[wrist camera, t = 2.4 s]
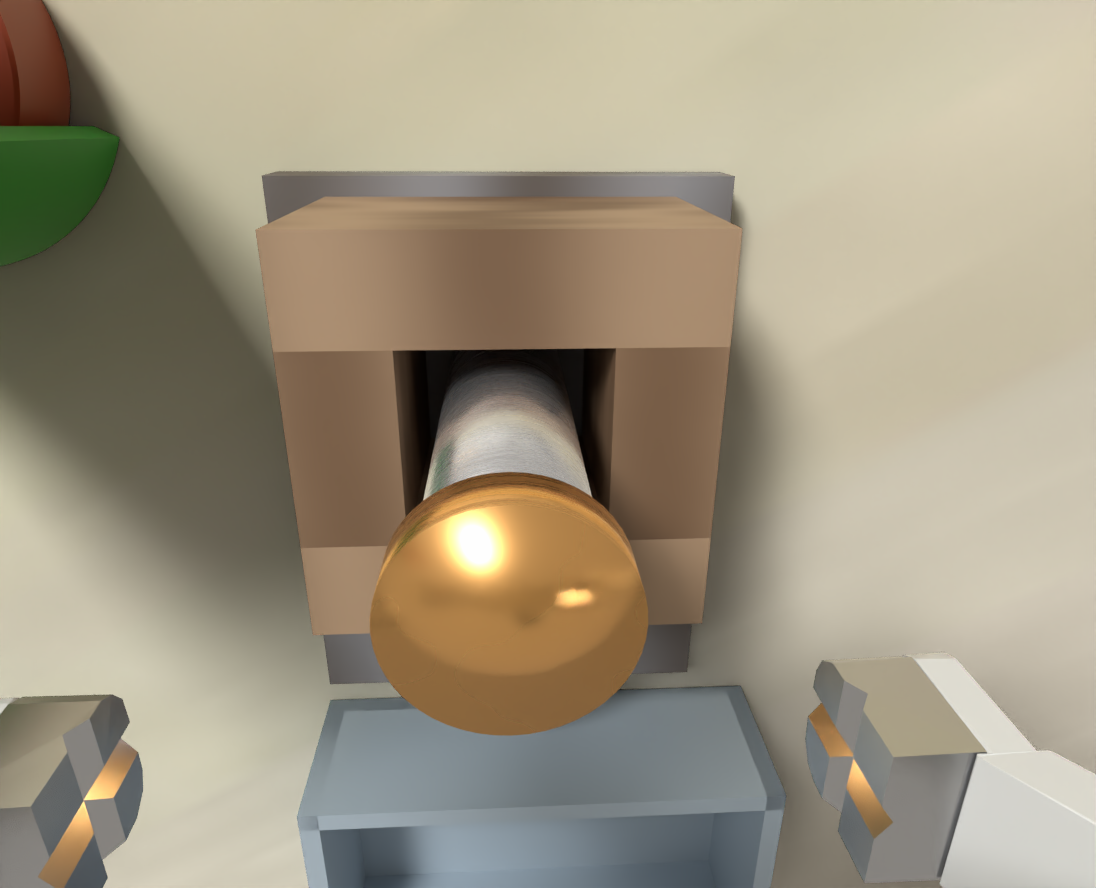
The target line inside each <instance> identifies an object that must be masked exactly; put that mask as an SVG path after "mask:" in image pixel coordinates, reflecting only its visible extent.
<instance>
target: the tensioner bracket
mask: <svg viewBox="0 0 1096 888" xmlns="http://www.w3.org/2000/svg"><path fill="white" fill-rule="evenodd" d="M734 179H735V176H731V175H728V174H724V173H721V172H274V173H270V174H266V175H263V176H262V181H263V189H264V196H265V204H266V211H267V218H268V224H267V225H265V226H262V227H260V228H258V229H256V237H257V244H258V251H259V258H260V265H261V272H262V279H263V286H264V293H265V300H266V307H267V314H268V321H269V328H270V336H271V343H272V350H273V357H274V364H275V371H276V378H277V385H278V392H279V399H280V406H281V413H282V420H283V427H284V434H285V441H286V449H287V456H288V463H289V470H290V477H291V484H292V491H293V498H294V505H295V512H296V519H297V526H298V533H299V540H300V547H301V555H302V562H303V569H304V576H305V583H306V590H307V597H308V604H309V611H310V618H311V625H312V632H313V635H324V641H325V649H326V656H327V664H328V671H329V678H330V684H347V683H377V682H389V680H388V679H387V678H386V676H385V675H384V673H383V671H382V669H381V667H380V665H379V664H378V661H377V659H376V656H375V653H374V650H373V647H372V641H371V636H370V612H371V604H372V600H373V596H374V592H375V588H376V584H377V581H378V577H379V573H380V569H381V565H382V562H383V558H384V555H385V552H386V549H387V546H388V544H389V542H390V540H391V538H392V536H393V534H394V532H395V531H396V530H397V528H398V527H399V525H400V524H401V522H402V521H403V520H404V519H405V518H406V516H407V515H408V514H409V513H410V512H411V511H412V510H413V509H414V508H415V507H416V506H418V505H419V504H420V503H421V502H422V501H423V499H424V494H425V489H426V484H427V479H428V474H429V469H430V464H431V459H432V454H433V449H434V444H435V439H436V434H437V429H438V424H439V419H440V414H441V409H442V404H443V399H444V394H445V389H446V384H447V379H448V374H449V369H450V364H451V359H452V353H453V350H493V349H557V352H558V356H559V360H560V365H561V369H562V373H563V377H564V381H565V386H566V390H567V394H568V398H569V403H570V407H571V411H572V415H573V419H574V424H575V428H576V432H577V436H578V440H579V445H580V449H581V453H582V457H583V461H584V466H585V470H586V474H587V478H588V482H589V487H590V491H591V495H592V497H593V498H594V499H595V500H596V501H598V502H599V503H600V504H602V505H603V506H604V507H605V508H606V509H607V510H608V511H609V512H610V514H611V515H612V516H613V517H614V518H615V519H616V521H617V522H618V524H619V525H620V526H621V528H622V529H623V531H624V533H625V535H626V537H627V539H628V541H629V543H630V546H631V549H632V552H633V555H634V558H635V561H636V565H637V568H638V571H639V575H640V578H641V581H642V585H643V588H644V591H645V595H646V600H647V606H648V630H647V636H646V641H645V644H644V648H643V651H642V654H641V656H640V658H639V660H638V662H637V665H636V667H635V668H634V670H633V671H632V673H631V674H643V673H672V672H687V667H688V656H689V646H690V636H691V625H692V624H695V623H702V618H703V609H704V599H705V589H706V580H707V570H708V560H709V550H710V541H711V531H712V521H713V511H714V502H715V492H716V482H717V472H718V463H719V453H720V443H721V434H722V424H723V414H724V404H725V395H726V385H727V375H728V365H729V356H730V346H731V336H732V327H733V317H734V307H735V297H736V288H737V278H738V268H739V258H740V249H741V239H742V228H740V227H738V226H736V225H734V224H732V223H730V220H731V210H732V200H733V189H734Z"/></svg>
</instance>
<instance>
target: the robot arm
mask: <svg viewBox="0 0 1096 888" xmlns="http://www.w3.org/2000/svg"><path fill="white" fill-rule="evenodd" d="M813 688H814V690H815V691H816V693H817V695H818V697H819V698H820V700H821V702H822V703H821V704H820V705H819V706H818V707H817V708H816V709H815V710H814V711H813V712H812V713H811V714H810V715H809V716H808V722H807V730H806V738H805V740H806V749H807V759H808V764H809V768H810V771H811V774H812V777H813V781H814V783H815V785H816V787H817V789H818V791H819V793H820V795H821V797H822V799H824V800H825V801H826V802H828V803H829V804H830V805H832V806H833V807H834V808H836V809H837V810H839V811H840V812H841V818H840V823H839V828H838V832H839V834H840V836H841V838H842V840H843V842H844V844H845V846H846V848H847V850H848V852H849V854H850V856H851V858H852V860H853V862H854V864H855V866H856V868H857V870H858V872H859V874H860V876H861V878H862V880H863V882H864V883H882V882H907V881H933V880H940V885H941V886H942V887H943V888H1096V774H1094V773H1092V772H1090V771H1088V770H1087V769H1085V768H1083V767H1081V766H1079V765H1077V764H1075V763H1073V762H1071V761H1070V760H1068V759H1066V758H1064V757H1062V756H1060V755H1058V754H1056V753H1054V752H1052V751H1051V750H1047V751H1037V750H1036V749H1035V748H1034V747H1033V746H1032V745H1031V743H1030V742H1029V741H1028V740H1027V739H1026V738H1025V737H1024V736H1023V734H1022V733H1021V732H1020V731H1019V730H1018V729H1017V728H1016V726H1015V725H1014V724H1013V723H1012V722H1011V721H1010V720H1009V718H1008V717H1007V716H1006V715H1005V714H1004V713H1003V712H1002V710H1001V709H1000V708H999V707H998V706H997V705H996V704H995V702H994V701H993V700H992V699H991V698H990V697H989V696H988V694H987V693H986V692H985V691H984V690H983V689H982V688H981V687H980V685H979V684H978V683H977V682H976V681H975V680H974V679H973V677H972V676H971V675H970V674H969V673H968V672H967V671H966V669H965V668H964V667H963V666H962V665H961V664H960V663H959V661H958V660H957V659H956V658H954V657H953V656H951V655H949V654H947V653H945V652H939V653H925V654H911V655H903V656H902V657H901V656H895V657H877V658H858V659H840V660H822V662H821V664H820V665H819V667H818V669H817V670H816V676H815V681H814V686H813ZM129 723H130V721H129V718H128V715H127V712H126V709H125V706H124V703H123V700H122V699H121V698H119V697H116V696H114V695H73V696H34V697H22V698H0V888H103V886H104V884H105V882H106V880H107V878H108V877H107V874H106V871H105V868H104V864H103V861H102V860H103V859H104V858H105V857H106V856H108V855H109V854H110V853H111V852H113V851H114V850H115V849H116V848H118V847H119V846H120V845H121V844H123V843H124V842H125V841H126V840H127V838H128V835H129V833H130V831H131V829H132V827H133V825H134V823H135V821H136V818H137V815H138V810H139V806H140V801H141V797H142V792H143V774H142V766H141V762H140V758H139V754H138V752H137V751H136V750H134V749H133V748H132V747H131V746H129V745H128V744H127V743H126V742H124V741H123V740H122V739H121V736H122V735H123V733H124V731H125V729H126V728H127V726H128V724H129Z"/></svg>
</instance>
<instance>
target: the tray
mask: <svg viewBox="0 0 1096 888" xmlns="http://www.w3.org/2000/svg"><path fill="white" fill-rule="evenodd" d="M785 801H786V794H785V791H784V789H783V786H782V784H781V782H780V779H779V777H778V774H777V772H776V770H775V767H774V765H773V762H772V760H771V758H770V755H769V753H768V751H767V748H766V746H765V743H764V741H763V739H762V736H761V734H760V731H759V729H758V727H757V724H756V722H755V719H754V717H753V715H752V712H751V710H750V707H749V705H748V703H747V700H746V698H745V696H744V693H743V691H742V688H741V686H723V687H694V688H666V689H637V690H618V691H617V692H616V693H615V694H614V695H613V696H611V697H610V698H609V699H608V700H607V701H606V702H605V703H603V704H602V705H601V706H599V707H598V708H596V709H595V710H593V711H592V712H590V713H589V714H587V715H585V716H583V717H581V718H579V719H578V720H575V721H573V722H571V723H568V724H566V725H563V726H561V727H557V728H554V729H551V730H547V731H543V732H538V733H532V734H525V735H513V736H506V735H488V734H479V733H474V732H470V731H465V730H461V729H458V728H455V727H452V726H449V725H446V724H444V723H442V722H440V721H438V720H435V719H433V718H431V717H429V716H428V715H426V714H425V713H423V712H421V711H420V710H418V709H417V708H415V707H414V706H413V705H412V704H410V703H409V702H408V701H407V700H405V699H404V698H380V699H351V700H331V701H330V704H329V708H328V711H327V714H326V718H325V721H324V725H323V728H322V732H321V735H320V739H319V742H318V746H317V749H316V752H315V756H314V759H313V763H312V766H311V770H310V773H309V777H308V780H307V784H306V787H305V790H304V794H303V797H302V801H301V804H300V808H299V811H298V815H297V821H298V827H299V832H300V838H301V844H302V850H303V856H304V862H305V867H306V873H307V879H308V885H309V888H770V887H771V882H772V876H773V870H774V864H775V859H776V853H777V847H778V841H779V836H780V830H781V824H782V819H783V813H784V807H785Z"/></svg>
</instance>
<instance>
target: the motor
mask: <svg viewBox="0 0 1096 888" xmlns="http://www.w3.org/2000/svg"><path fill="white" fill-rule="evenodd" d="M69 117H70V84H69V76H68V70H67V65H66V60H65V57H64V53H63V49H62V46H61V43H60V40H59V37H58V34H57V32H56V29H55V27H54V24H53V22H52V20H51V18H50V15H49V13H48V11H47V10H46V8H45V6H44V4H43V2H42V0H0V266H4V265H7V264H11V263H14V262H17V261H20V260H23V259H26V258H28V257H31V256H33V255H35V254H37V253H39V252H41V251H43V250H45V249H47V248H49V247H50V246H52V245H54V244H55V243H57V242H58V241H59V240H61V239H62V238H64V237H65V236H66V235H67V234H68V233H70V232H71V231H72V230H73V229H74V228H75V227H76V226H77V225H78V224H79V223H80V222H81V221H82V220H83V219H84V217H85V216H86V215H87V214H88V212H89V211H90V210H91V209H92V207H93V206H94V204H95V203H96V201H97V200H98V198H99V196H100V194H101V193H102V191H103V189H104V187H105V185H106V182H107V180H108V178H109V175H110V173H111V170H112V167H113V164H114V160H115V157H116V153H117V148H118V143H119V137H117V136H115V135H112V134H110V133H108V132H106V131H103V130H101V129H99V128H97V127H94V126H68V124H69Z"/></svg>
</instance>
